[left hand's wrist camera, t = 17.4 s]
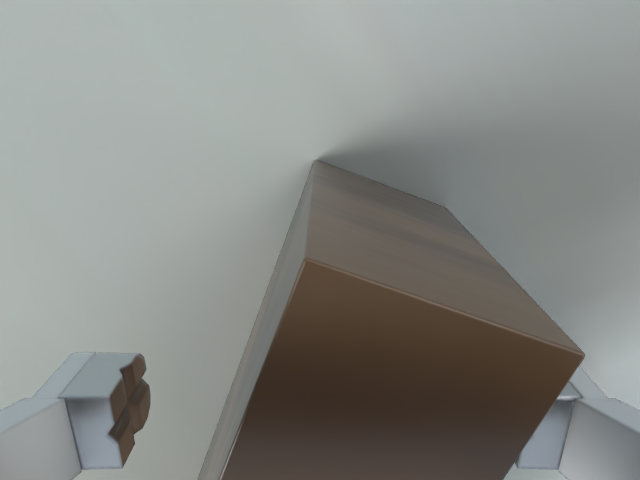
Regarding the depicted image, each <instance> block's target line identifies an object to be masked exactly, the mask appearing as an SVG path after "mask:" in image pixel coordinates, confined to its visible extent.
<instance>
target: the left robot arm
mask: <svg viewBox="0 0 640 480" xmlns="http://www.w3.org/2000/svg"><path fill="white" fill-rule="evenodd" d="M145 371H146V365H145V360H144V357H143V356H142V355H141V354H139V353H74V354H71V355H70V356H69V357H68V358H67V359H66V360H65V361H64V363H63V364H62V365H61V366H60V367H59V368H58V369H57V370H56V372H55V373H54V374H53V375H52V376H51V377H50V378H49V379H48V380H47V382H46V383H45V384H44V385H43V386H42V387H41V388H40V389H39V391H38V392H37V393H36V394H35V395H34V396H33V397H32V398H24V399H22V400H20V401H18V402H16V403H14V404H12V405H10V406H8V407H6V408H4V409H2V410H0V480H72V479H73V478H75V477H76V476H77V475H78V474H79V473H81V469H114V468H123V466H124V464H125V462H126V460H127V458H128V456H129V454H130V452H131V450H132V448H133V446H134V444H135V442H134V436H133V435H134V434H135V433H136V432H138V431H139V430H141V429H142V428H143V426H144V424H145V422H146V420H147V417H148V413H149V408H150V389H149V385H148V384H147V383H146V382H145V381H144V380H143V379H142V376H143V374H144V373H145ZM515 464H516V466H517V468H525V469H559V471H558V472H560V473H561V474H562V475H563V476H564V477H566V478H567V479H568V480H640V410H638V409H636V408H634V407H632V406H630V405H628V404H626V403H624V402H622V401H620V400H618V399H616V398H608V397H607V396H606V395H605V394H604V393H603V392H602V391H601V389H600V388H599V387H598V386H597V385H596V384H595V383H594V382H593V380H592V379H591V378H590V377H589V376H588V375H587V374H586V373H585V372H584V370H583V369H582V368H581V367H580V366H578V368H577V369H576V371H575V372H574V374H573V375H572V377H571V378H570V380H569V381H568V383H567V384H566V386H565V387H564V389H563V390H562V392H561V393H560V395H559V396H558V398H557V399H556V401H555V402H554V404H553V405H552V407H551V408H550V410H549V411H548V413H547V414H546V416H545V417H544V419H543V420H542V422H541V423H540V425H539V426H538V428H537V429H536V431H535V432H534V434H533V435H532V437H531V438H530V440H529V441H528V443H527V444H526V446H525V447H524V449H523V450H522V452H521V453H520V455H519V456H518V458H517V459H516V461H515Z"/></svg>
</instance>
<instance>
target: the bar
mask: <svg viewBox="0 0 640 480" xmlns="http://www.w3.org/2000/svg"><path fill="white" fill-rule="evenodd" d="M584 357H585V354H584V353H583V351H582V350H581V349H580V348H579V347H578V346H577V345H576V344H575V343H574V342H573V341H572V340H571V339H570V338H569V337H568V336H567V335H566V334H565V332H564V331H563V330H562V329H561V328H560V327H559V326H558V325H557V324H556V323H555V322H554V321H553V320H552V319H551V318H550V317H549V316H548V315H547V314H546V312H545V311H544V310H543V309H542V308H541V307H540V306H539V305H538V304H537V303H536V302H535V301H534V300H533V299H532V298H531V297H530V296H529V295H528V293H527V292H526V291H525V290H524V289H523V288H522V287H521V286H520V285H519V284H518V283H517V282H516V281H515V280H514V279H513V278H512V277H511V276H510V275H509V273H508V272H507V271H506V270H505V269H504V268H503V267H502V266H501V265H500V264H499V263H498V262H497V261H496V260H495V259H494V258H493V257H492V256H491V254H490V253H489V252H488V251H487V250H486V249H485V248H484V247H483V246H482V245H481V244H480V243H479V242H478V241H477V240H476V239H475V238H474V237H473V235H472V234H471V233H470V232H469V231H468V230H467V229H466V228H465V227H464V226H463V225H462V224H461V223H460V222H459V221H458V220H457V219H456V218H455V217H454V215H453V214H452V213H451V212H450V211H449V210H448V209H447V208H445V207H442V206H440V205H437V204H434V203H431V202H429V201H426V200H423V199H421V198H418V197H415V196H413V195H410V194H407V193H405V192H402V191H399V190H396V189H394V188H391V187H388V186H386V185H383V184H380V183H378V182H375V181H372V180H370V179H367V178H364V177H361V176H359V175H356V174H353V173H351V172H348V171H345V170H343V169H340V168H337V167H334V166H332V165H329V164H326V163H324V162H321V161H318V160H314V162H313V165H312V168H311V170H310V173H309V176H308V179H307V181H306V184H305V187H304V190H303V192H302V195H301V198H300V201H299V203H298V206H297V209H296V212H295V214H294V217H293V220H292V222H291V225H290V228H289V231H288V233H287V236H286V239H285V242H284V244H283V247H282V250H281V253H280V255H279V258H278V261H277V264H276V266H275V269H274V272H273V274H272V277H271V280H270V283H269V285H268V288H267V291H266V294H265V296H264V299H263V302H262V305H261V307H260V310H259V313H258V316H257V318H256V321H255V324H254V326H253V329H252V332H251V335H250V337H249V340H248V343H247V346H246V348H245V351H244V354H243V357H242V359H241V362H240V365H239V368H238V370H237V373H236V376H235V378H234V381H233V384H232V387H231V389H230V392H229V395H228V398H227V400H226V403H225V406H224V409H223V411H222V414H221V417H220V420H219V422H218V425H217V428H216V430H215V433H214V436H213V439H212V441H211V444H210V447H209V450H208V452H207V455H206V458H205V461H204V463H203V466H202V469H201V472H200V474H199V477H198V480H503V479H504V477H505V476H506V474H507V473H508V471H509V470H510V468H511V467H512V465H513V464H514V462H515V461H516V459H517V458H518V456H519V455H520V453H521V452H522V450H523V449H524V447H525V446H526V444H527V443H528V441H529V440H530V438H531V437H532V435H533V434H534V432H535V431H536V429H537V428H538V426H539V425H540V423H541V422H542V420H543V419H544V417H545V416H546V414H547V413H548V411H549V410H550V408H551V407H552V405H553V404H554V402H555V401H556V399H557V398H558V396H559V395H560V393H561V392H562V390H563V389H564V387H565V386H566V384H567V383H568V381H569V380H570V378H571V377H572V375H573V374H574V372H575V371H576V369H577V368H578V366H579V365H580V363H581V362H582V360H583V359H584Z"/></svg>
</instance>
